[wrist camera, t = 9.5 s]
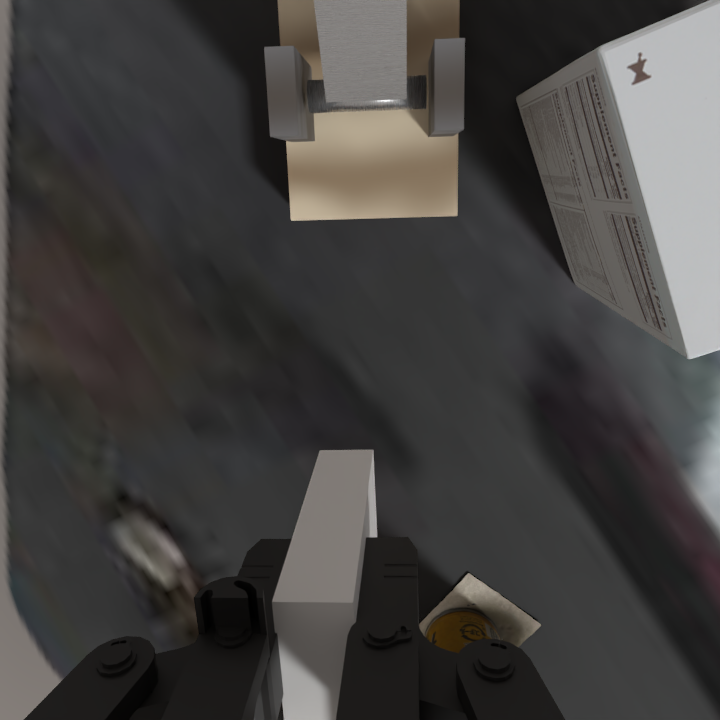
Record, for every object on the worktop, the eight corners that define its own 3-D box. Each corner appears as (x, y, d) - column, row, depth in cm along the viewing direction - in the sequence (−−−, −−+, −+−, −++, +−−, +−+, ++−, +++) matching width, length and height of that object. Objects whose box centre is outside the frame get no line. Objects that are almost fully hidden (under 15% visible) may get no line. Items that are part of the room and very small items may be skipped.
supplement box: (572, 291, 43) (682, 368, 27) (511, 96, 40) (591, 43, 23) (775, 217, 41) (1033, 250, 25) (728, 5, 38) (986, -124, 21)
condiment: (400, 642, 52) (401, 776, 41) (468, 571, 50) (489, 691, 38) (471, 689, 53) (491, 833, 41) (540, 622, 51) (582, 754, 39)
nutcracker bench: (452, 211, 42) (468, 224, 32) (300, 216, 43) (270, 230, 33) (454, -108, 37) (475, -211, 27) (282, -98, 38) (241, -194, 28)
